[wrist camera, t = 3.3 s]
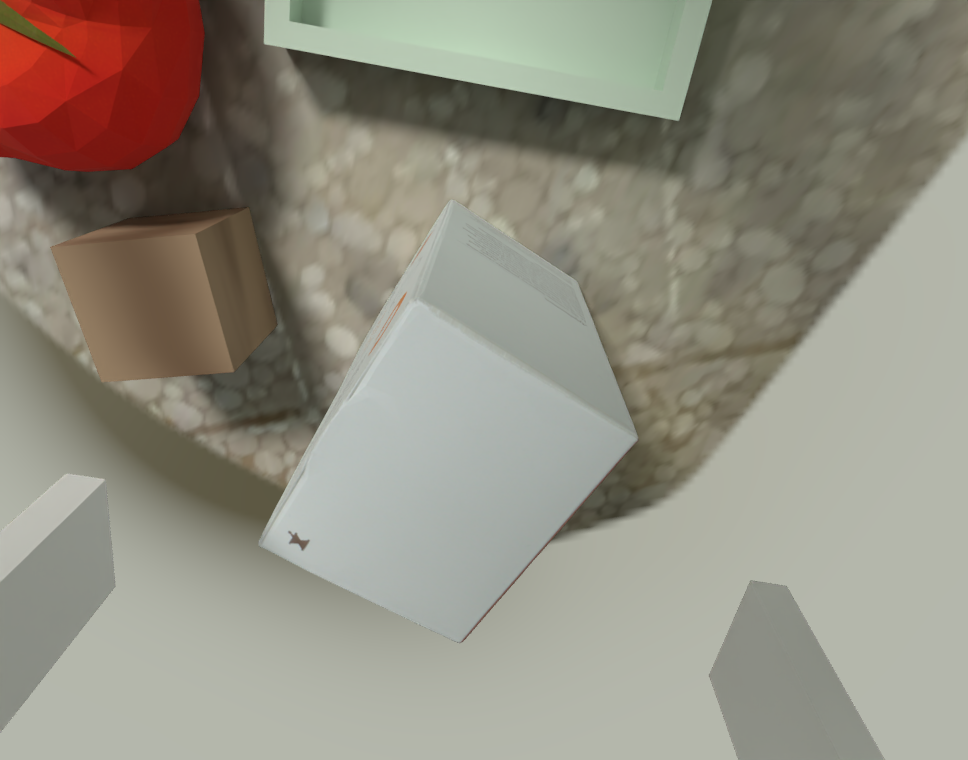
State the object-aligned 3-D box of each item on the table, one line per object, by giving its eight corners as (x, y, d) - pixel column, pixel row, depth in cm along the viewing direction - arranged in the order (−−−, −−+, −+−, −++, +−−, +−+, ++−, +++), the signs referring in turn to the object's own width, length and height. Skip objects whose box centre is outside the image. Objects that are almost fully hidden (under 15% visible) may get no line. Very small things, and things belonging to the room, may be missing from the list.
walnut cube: (166, 333, 28) (101, 382, 24) (129, 217, 26) (50, 247, 21) (278, 324, 28) (234, 372, 23) (249, 206, 26) (194, 233, 21)
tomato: (233, 176, 25) (149, 205, 19) (-52, 132, 25) (-227, 148, 19) (227, -131, 21) (118, -215, 15) (-116, -190, 21) (-366, -298, 15)
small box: (477, 423, 29) (459, 653, 18) (355, 352, 28) (246, 549, 16) (583, 279, 26) (647, 439, 15) (452, 192, 25) (405, 292, 13)
